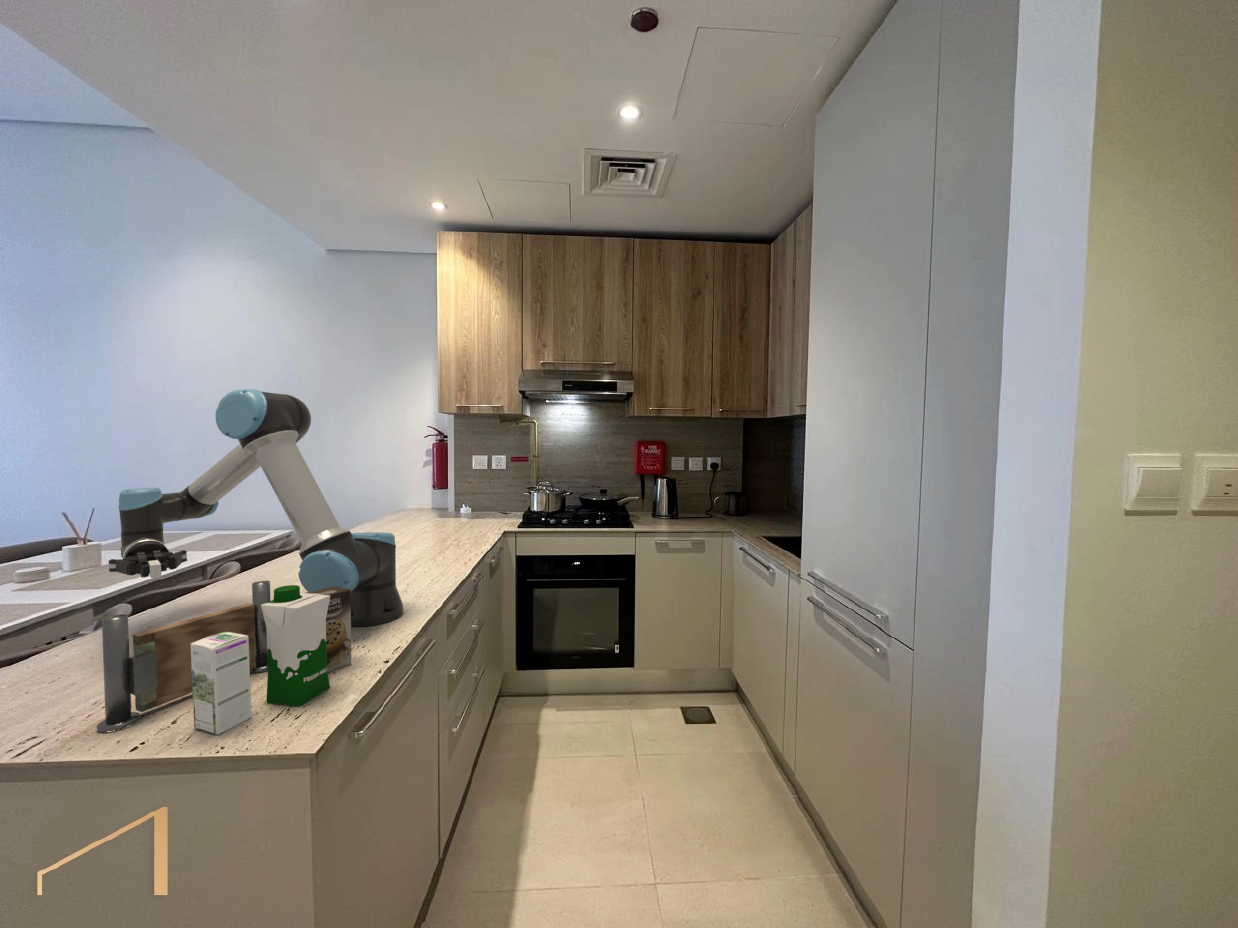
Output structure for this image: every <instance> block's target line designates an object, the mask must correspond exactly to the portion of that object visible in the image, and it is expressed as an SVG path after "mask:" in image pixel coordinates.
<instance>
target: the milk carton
mask: <svg viewBox="0 0 1238 928" xmlns="http://www.w3.org/2000/svg"><path fill="white" fill-rule="evenodd" d="M300 588H301V587H300V585H297V584H296V585H295V584H293V585H292V584H291V585H284V586H278V587H276V588H274V589H273V599H272V600H270V602H267V603H265V604H262V605H261V608H262V612H263V616H264V620H265V624H266V629H267V665H268V671H267V679H266V680H267V684H266V701H265V702H266V703H270V704H278V705H284V706H285V705H286V706H291V707H301V706H303V705H304V704H305V703H307V702H309V701H311V700H312V699H314V698H315V697H317V696H319V695H321V694H322V693H324V692H325V691H326V690H328V689H330V688H331V686H330V678H329V672H328V669H327V651H326V616H327V610H328V605H329V600H330V595H320V594H309V593H306V592H301V589H300Z"/></svg>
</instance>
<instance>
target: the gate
mask: <svg viewBox="0 0 1238 928" xmlns="http://www.w3.org/2000/svg"><path fill="white" fill-rule="evenodd" d="M222 632H231V633H236V634H242V635H247V636H248V641H249V665H250V670H252V669H254V668H256V662H255V639H254V604H253V603H244V604H240V605H237V606H234V607H233V606H232V607H231V608H230V607H229V608H226V609H222V610H218V611H215V612H212V613H208V614H204V615H200V616H196V617H193V618H189V619H186V620H182V621H178V622H175V623H170V624H167V625H163V626H160V627H159V626H158V627H155V628H152V629H149V630H148V629H147V630H145V631H141V632H137V633H134V634H132V642H133V643H132V645H133V647H132V648H133V656H137V655H140V654H143V653H147V652H150V651H153V652H156V654H157V684H158V687H156V688H154V689H151V690H148V691H145V692H142V693H140V694H137V695H134V699H135V700H134V701H135V702H134V703H135V711H136V712H137V711H138V712H139V713H144V712H146V711H148V710H151V709H155V708H156V707H160V706H162V705H164V704H167V703H169V702H172V701H175V700H177V699H180V698H182V697H184V696H187V695H190V694H193V690H192V668H191V643H194V642H196V641H198V640H201V639H203V638H206V637H209V636H212V635H215V634H219V633H222Z"/></svg>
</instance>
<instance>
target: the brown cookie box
mask: <svg viewBox="0 0 1238 928" xmlns="http://www.w3.org/2000/svg"><path fill="white" fill-rule="evenodd" d="M350 591H351V590H349V589H346V588H341V587H337V586H333V587H329V588H324V589H320V590H315V591H311V592H308V591H307V592H305V593H309V594H320V595H330V600H329V605H328V610H327V616H326V651H327V669H328V673H330V672H333V671H336V670H339V669H341V668H345V667H346V666H350V665H352V626H351V593H350Z"/></svg>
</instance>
